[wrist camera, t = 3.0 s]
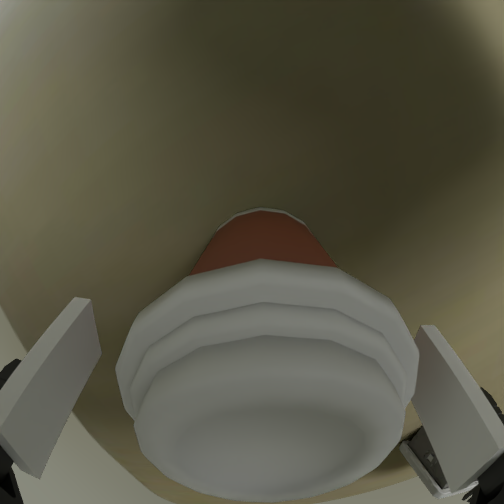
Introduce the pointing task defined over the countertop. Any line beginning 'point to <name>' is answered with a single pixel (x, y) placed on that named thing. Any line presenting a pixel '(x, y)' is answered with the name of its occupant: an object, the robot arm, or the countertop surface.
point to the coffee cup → (267, 368)
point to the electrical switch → (428, 465)
